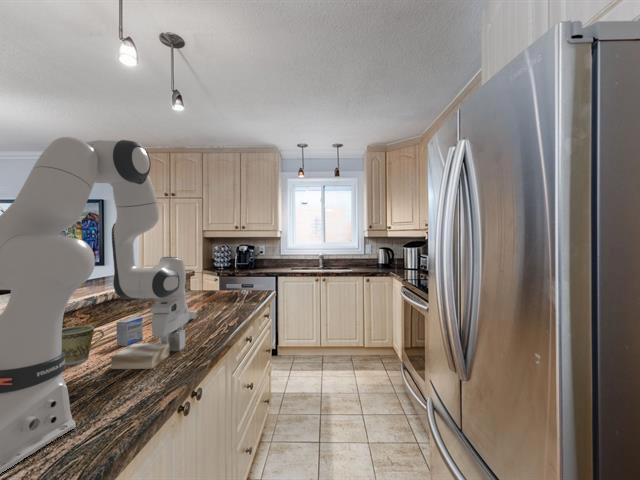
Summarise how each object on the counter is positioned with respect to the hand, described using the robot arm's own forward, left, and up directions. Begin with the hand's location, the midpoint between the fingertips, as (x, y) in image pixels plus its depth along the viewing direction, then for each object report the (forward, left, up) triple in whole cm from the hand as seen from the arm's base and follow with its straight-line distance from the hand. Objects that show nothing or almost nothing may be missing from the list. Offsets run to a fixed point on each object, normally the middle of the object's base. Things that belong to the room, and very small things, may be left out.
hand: (172, 342), depth 111 cm
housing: (0, 0, -2) cm, 2 cm away
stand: (-12, +4, -2) cm, 13 cm away
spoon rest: (+35, +12, -3) cm, 37 cm away
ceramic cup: (-11, +24, -2) cm, 27 cm away
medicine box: (+7, +19, -2) cm, 20 cm away
